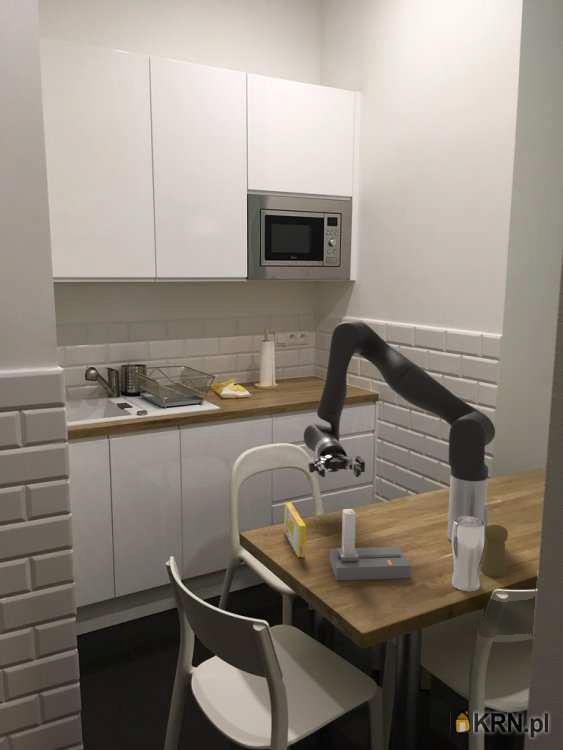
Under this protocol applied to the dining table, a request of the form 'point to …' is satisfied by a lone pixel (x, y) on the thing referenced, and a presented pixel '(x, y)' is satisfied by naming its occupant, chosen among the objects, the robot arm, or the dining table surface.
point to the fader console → (371, 564)
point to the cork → (494, 552)
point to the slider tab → (348, 536)
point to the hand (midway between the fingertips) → (340, 473)
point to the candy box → (295, 530)
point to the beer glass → (467, 552)
